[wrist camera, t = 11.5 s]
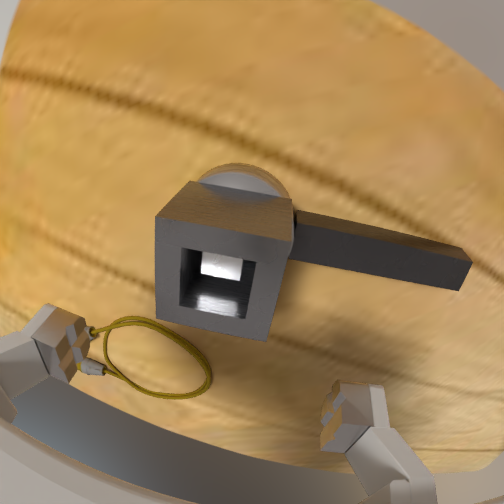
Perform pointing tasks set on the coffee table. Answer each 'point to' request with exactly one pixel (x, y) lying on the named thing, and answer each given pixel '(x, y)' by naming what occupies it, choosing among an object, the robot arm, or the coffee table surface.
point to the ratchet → (342, 241)
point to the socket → (223, 243)
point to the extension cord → (99, 369)
